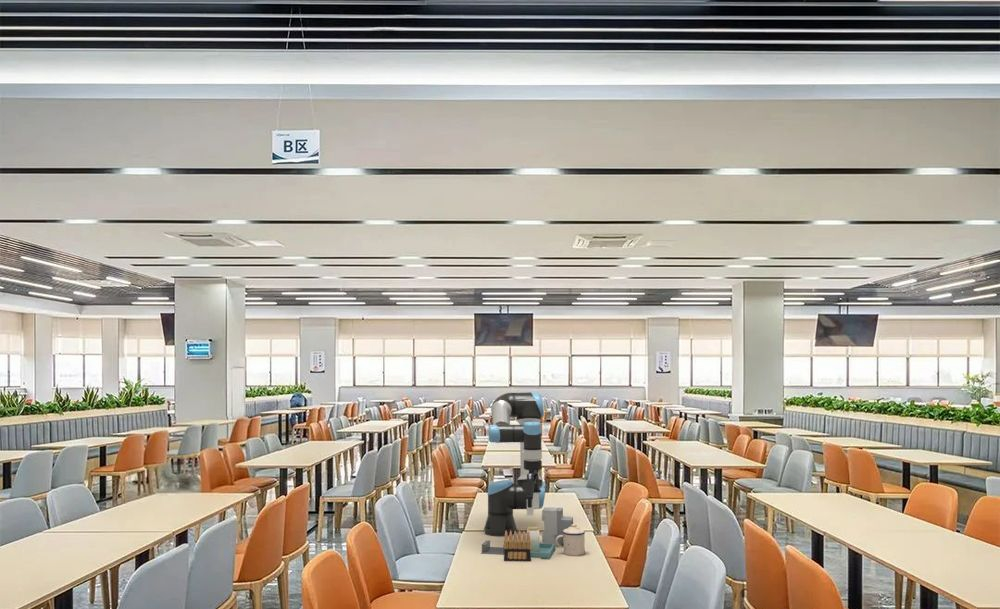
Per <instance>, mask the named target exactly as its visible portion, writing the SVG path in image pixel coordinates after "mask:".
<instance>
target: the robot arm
mask: <svg viewBox="0 0 1000 609" xmlns="http://www.w3.org/2000/svg"><path fill="white" fill-rule="evenodd" d="M490 412H491V415H492V418H493V419H492V424H489V425H488V441H489V443H495V444H499V443H501V444H502V443H505V444H506V443H509V444H510V443H519V445H520V449H519V452H520V455H519V458H520V460H519V461H520V463H519V464H520V476H519V477H518V478H517V481H516V482H517V483H514V482H513V480H512V479H502V480H497V481H494V482H491V483H489V484H488V486H487V493H486V494H487V518H486V521H485V524H484V530H483V531H484V534H486V535H489V536H495V537H505V531H507V534H508V536H509V533H510V530H511V532H512V536H514V532H515V531H516V534H518V533H517V532H518V527H517V523H516V521H515V517H514V510H526V516H531V517H532V516H533V517H534V514H535V511H534V510H540V509H541V510H542V508H543V507H544V505H545V496H546V483H545V482H543V478H542V477H541V476H540V471H541V470H542V468H543V467H542V465H543V462H542V459H543V453H542V452H543V450H542V439H543V438H542V431H543V428H542V423H541V421H542V418H544V416H545V412H544V404H543V398H542V395H541V394H540V393H539V392H530V391H529V392H507V393H503V394H501V395H499V396H498V397H497V398H495V400H493V402H492V404H491V407H490ZM511 418H516V422H517V423H518V424H511Z"/></svg>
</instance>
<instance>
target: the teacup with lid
mask: <svg viewBox="0 0 1000 609" xmlns="http://www.w3.org/2000/svg"><path fill="white" fill-rule="evenodd" d="M576 525H577V524H576V523H573V524H572V525H571V527H569V528H567V529H564V530H563V535H559V536H557V538H556V543H557V545H558V546H559V547H558V548H561V549H563V554H565V555H567V556H571V557H572V556H574V557H575V556H577V557H578V556H584V554H585V553H586V551H585V550H586V549H585V544H586V543H585V542H586V538H585V533H586V531H585V530H584V529H582V528H580V527H579V526H576ZM560 537H563V545H562V546H561V545H559V544H558V538H560Z"/></svg>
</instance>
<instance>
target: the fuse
mask: <svg viewBox="0 0 1000 609" xmlns="http://www.w3.org/2000/svg"><path fill="white" fill-rule="evenodd" d="M526 530H527V531H526V532H528V531H529V533H530V542H531V552H539V549H540V543H541V542H540V527H539V525H534V524H533V525H528V526H527V529H526Z"/></svg>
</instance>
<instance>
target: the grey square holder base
mask: <svg viewBox="0 0 1000 609" xmlns="http://www.w3.org/2000/svg"><path fill="white" fill-rule="evenodd" d="M502 546H503V547H501V546H500V547H499V546H491V540H485V541H484V542H483V543H482V544H481V553H480V554H481V555H496V556H498V555H499V556H501V555H502V556H504V544H503V545H502ZM508 548H509V541H508ZM508 554H509V552H508Z"/></svg>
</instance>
